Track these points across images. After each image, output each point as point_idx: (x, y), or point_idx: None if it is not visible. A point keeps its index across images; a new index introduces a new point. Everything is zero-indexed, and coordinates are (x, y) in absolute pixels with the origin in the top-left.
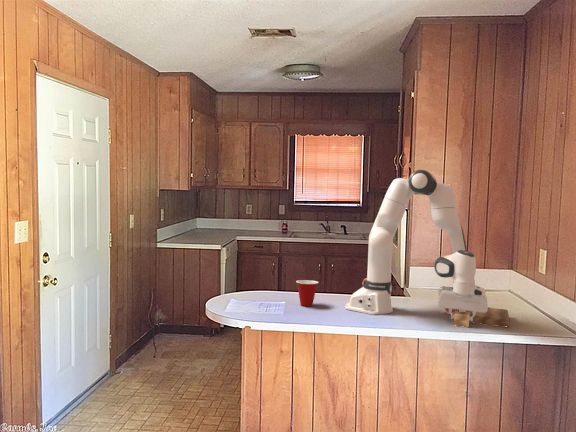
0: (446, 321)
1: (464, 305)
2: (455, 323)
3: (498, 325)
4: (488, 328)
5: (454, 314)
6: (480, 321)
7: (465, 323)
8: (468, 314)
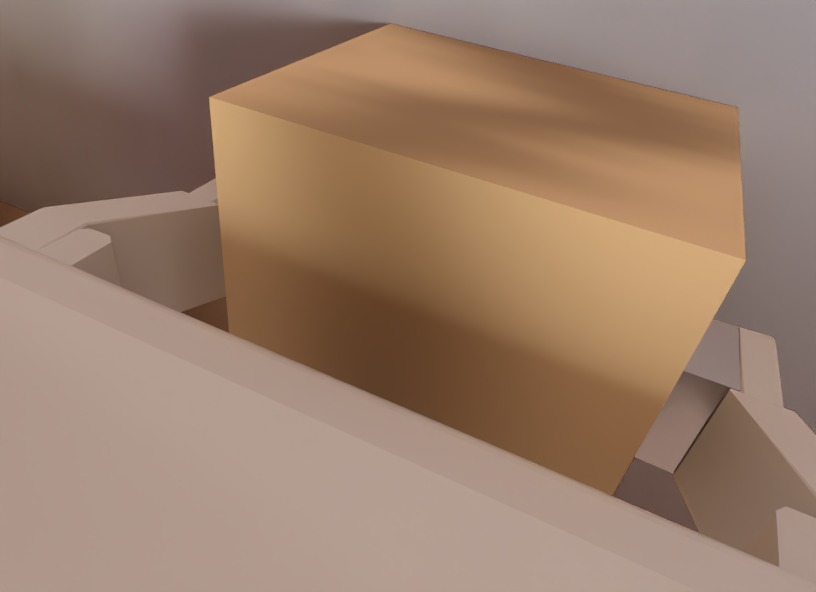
0: (800, 410)
1: (100, 512)
2: (692, 119)
3: (13, 218)
4: (89, 76)
5: (744, 257)
6: (187, 310)
7: (423, 59)
8: (249, 290)
